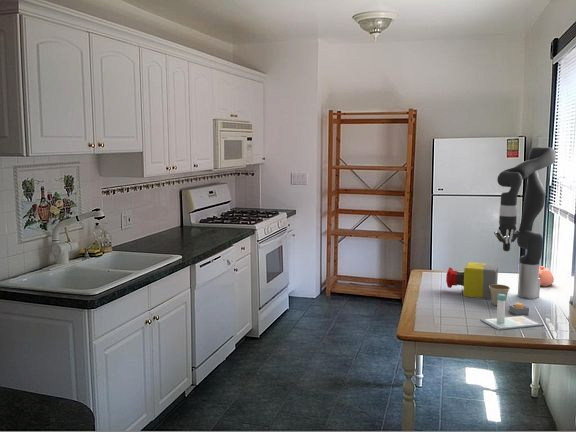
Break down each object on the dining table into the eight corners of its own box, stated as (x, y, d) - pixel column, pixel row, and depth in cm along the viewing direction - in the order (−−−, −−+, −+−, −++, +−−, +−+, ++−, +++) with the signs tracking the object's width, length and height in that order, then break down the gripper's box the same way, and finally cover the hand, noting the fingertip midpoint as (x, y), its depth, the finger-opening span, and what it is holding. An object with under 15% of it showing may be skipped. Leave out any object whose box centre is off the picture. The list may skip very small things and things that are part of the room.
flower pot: (499, 308, 259) (500, 290, 257) (484, 303, 267) (484, 285, 266) (513, 305, 263) (514, 287, 262) (497, 300, 271) (498, 283, 270)
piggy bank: (555, 283, 301) (556, 265, 300) (551, 289, 290) (552, 270, 288) (531, 280, 308) (532, 262, 307) (526, 286, 296) (527, 267, 295)
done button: (519, 310, 254) (520, 302, 253) (524, 313, 250) (525, 304, 250) (512, 311, 253) (513, 303, 252) (517, 313, 250) (518, 305, 249)
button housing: (520, 310, 255) (520, 304, 255) (528, 314, 249) (529, 307, 249) (509, 311, 254) (509, 305, 254) (517, 315, 248) (517, 308, 248)
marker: (501, 320, 239) (502, 293, 238) (506, 322, 236) (507, 295, 234) (494, 321, 238) (495, 294, 237) (499, 323, 235) (500, 296, 234)
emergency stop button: (448, 287, 295) (449, 260, 293) (497, 292, 285) (498, 264, 283) (444, 294, 282) (445, 266, 280) (494, 300, 272) (495, 270, 270)
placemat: (523, 316, 247) (524, 314, 247) (543, 325, 234) (543, 324, 234) (480, 320, 242) (480, 318, 242) (498, 330, 229) (498, 328, 229)
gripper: (515, 213, 260) (513, 248, 262) (490, 214, 257) (489, 250, 259) (525, 215, 253) (523, 251, 255) (500, 216, 250) (498, 253, 252)
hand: (506, 251), depth 257 cm, fingers closed
